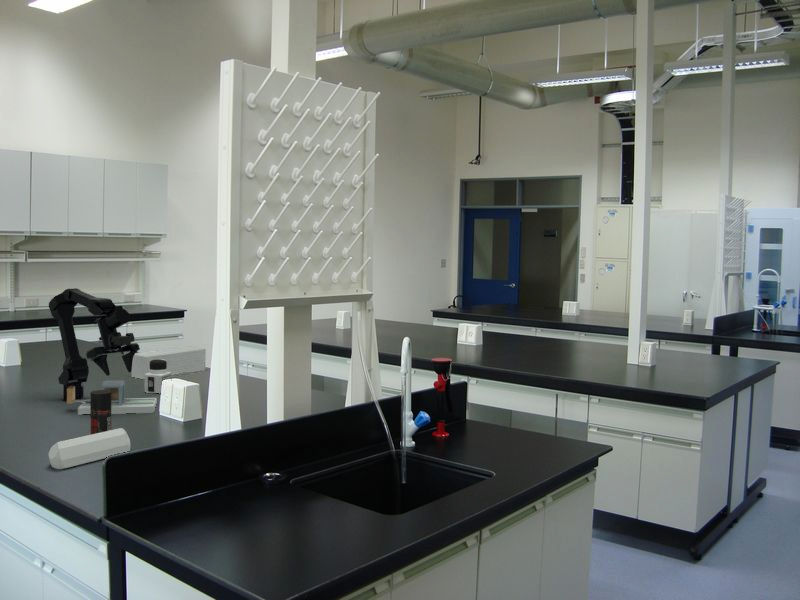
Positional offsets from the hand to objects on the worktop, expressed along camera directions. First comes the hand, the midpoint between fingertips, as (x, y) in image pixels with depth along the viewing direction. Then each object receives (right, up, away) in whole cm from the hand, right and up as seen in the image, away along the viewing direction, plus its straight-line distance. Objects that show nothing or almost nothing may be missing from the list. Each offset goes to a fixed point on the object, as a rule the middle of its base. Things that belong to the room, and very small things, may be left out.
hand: (119, 373), depth 258 cm
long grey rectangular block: (-5, -8, +70) cm, 71 cm away
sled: (-8, -10, +1) cm, 13 cm away
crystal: (+13, -19, -54) cm, 59 cm away
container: (+2, -11, +34) cm, 35 cm away
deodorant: (+8, -17, -36) cm, 41 cm away
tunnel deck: (-1, -13, +3) cm, 13 cm away
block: (-3, -9, +2) cm, 10 cm away
